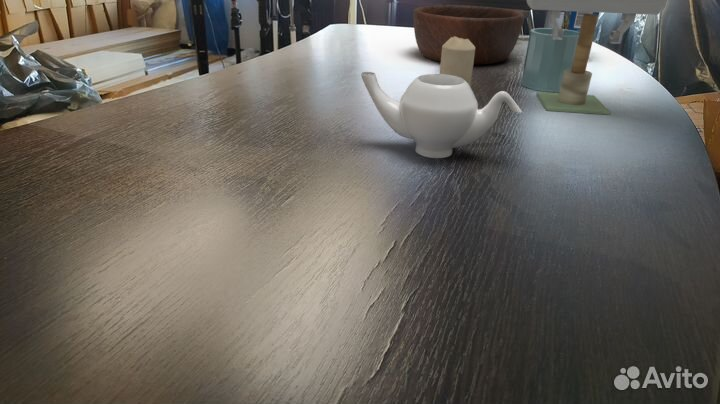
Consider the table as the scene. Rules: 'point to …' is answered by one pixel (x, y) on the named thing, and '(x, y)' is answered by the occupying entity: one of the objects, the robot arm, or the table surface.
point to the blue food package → (574, 20)
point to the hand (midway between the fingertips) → (585, 41)
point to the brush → (579, 65)
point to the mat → (553, 104)
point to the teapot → (437, 112)
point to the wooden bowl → (468, 30)
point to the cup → (548, 59)
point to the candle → (458, 58)
